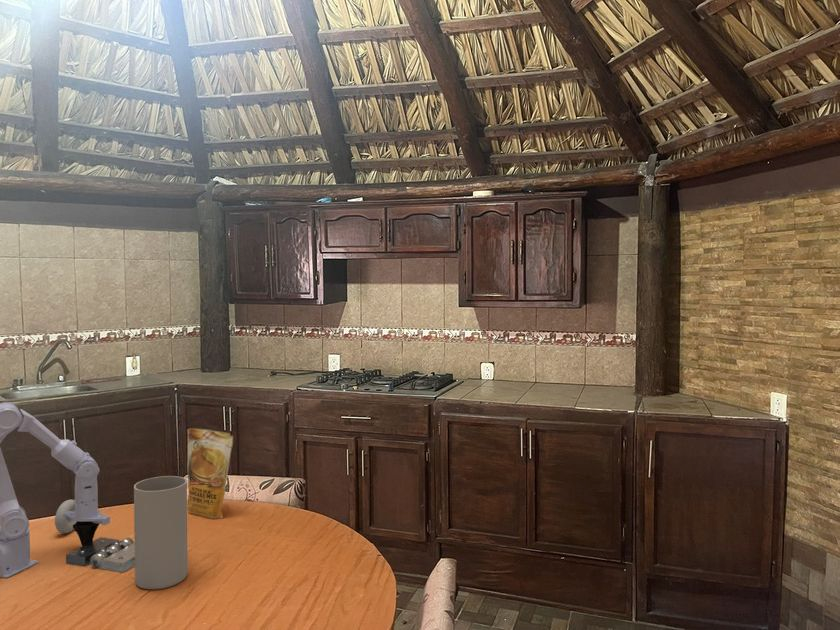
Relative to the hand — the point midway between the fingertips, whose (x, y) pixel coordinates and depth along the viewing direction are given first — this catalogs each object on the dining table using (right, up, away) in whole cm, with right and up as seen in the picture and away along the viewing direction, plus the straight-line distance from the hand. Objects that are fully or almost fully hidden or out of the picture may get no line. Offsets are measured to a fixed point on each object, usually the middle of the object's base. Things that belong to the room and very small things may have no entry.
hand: (86, 546), depth 172 cm
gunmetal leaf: (+5, -1, -4) cm, 7 cm away
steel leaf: (+13, -2, -6) cm, 15 cm away
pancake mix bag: (+24, -1, +30) cm, 38 cm away
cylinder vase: (+28, -2, -16) cm, 33 cm away
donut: (-13, -1, +13) cm, 18 cm away
